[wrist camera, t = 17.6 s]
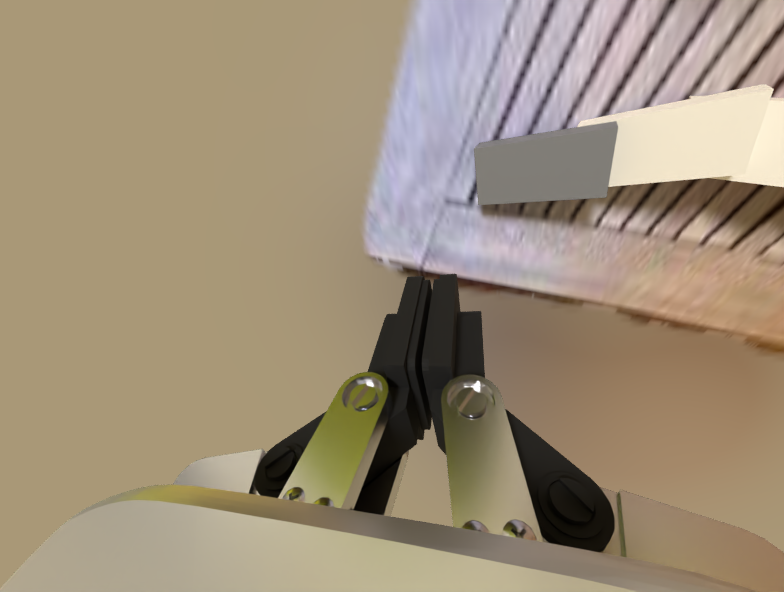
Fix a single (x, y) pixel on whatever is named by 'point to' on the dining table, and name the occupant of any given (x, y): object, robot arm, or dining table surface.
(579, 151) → the slate domino
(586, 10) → the dining table surface
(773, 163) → the ivory domino
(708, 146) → the ivory domino
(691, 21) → the dining table surface
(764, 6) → the dining table surface
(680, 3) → the dining table surface
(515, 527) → the robot arm
